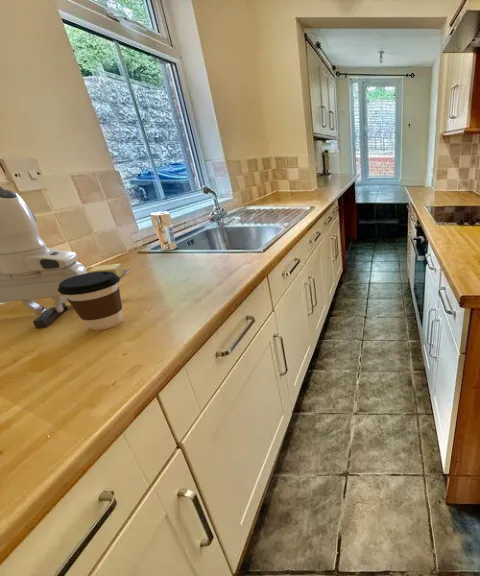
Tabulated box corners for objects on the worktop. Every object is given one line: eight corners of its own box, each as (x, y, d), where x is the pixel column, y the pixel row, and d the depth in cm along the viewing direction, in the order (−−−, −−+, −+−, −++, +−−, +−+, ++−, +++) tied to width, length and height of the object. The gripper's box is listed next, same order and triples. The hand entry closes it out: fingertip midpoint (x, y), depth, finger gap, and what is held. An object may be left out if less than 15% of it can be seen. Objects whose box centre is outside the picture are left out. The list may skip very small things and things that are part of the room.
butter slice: (78, 283, 97) (73, 272, 96) (86, 277, 102) (82, 267, 101) (86, 282, 98) (81, 272, 97) (94, 276, 103) (89, 266, 101)
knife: (46, 327, 77) (41, 316, 75) (36, 328, 76) (30, 317, 75) (87, 292, 95) (83, 283, 93) (79, 293, 94) (75, 284, 93)
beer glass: (182, 245, 140) (172, 211, 133) (173, 250, 133) (163, 214, 127) (165, 246, 139) (155, 211, 133) (156, 251, 133) (145, 215, 127)
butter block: (91, 282, 98) (87, 271, 97) (99, 275, 103) (95, 265, 102) (118, 279, 101) (114, 268, 99) (124, 273, 105) (121, 263, 104)
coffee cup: (117, 310, 85) (100, 268, 80) (143, 317, 81) (128, 274, 76) (66, 330, 75) (44, 283, 70) (94, 339, 72) (73, 291, 67)
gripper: (-47, 270, 68) (-14, 326, 74) (71, 260, 75) (93, 311, 80) (-24, 261, 74) (5, 313, 79) (84, 252, 80) (104, 301, 86)
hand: (50, 312), depth 80 cm, fingers closed on knife, 2 cm apart
